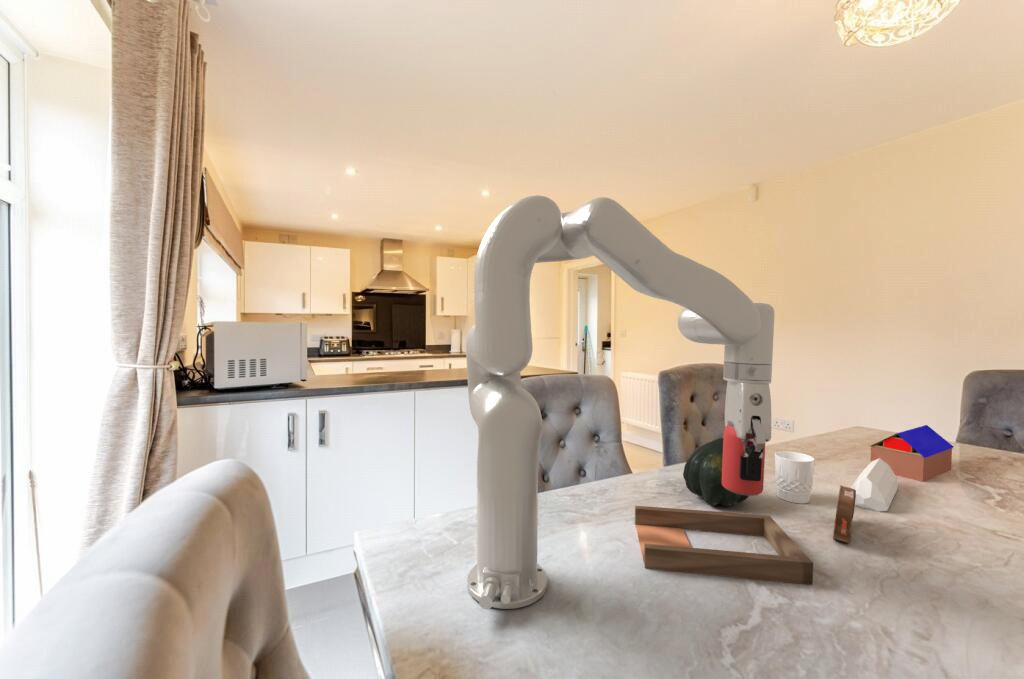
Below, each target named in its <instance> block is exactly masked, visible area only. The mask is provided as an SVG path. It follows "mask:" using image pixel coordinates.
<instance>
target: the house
mask: <svg viewBox="0 0 1024 679" xmlns="http://www.w3.org/2000/svg"><path fill="white" fill-rule="evenodd" d="M869 447H870V462H869V464H870V463H871V462H872V461H874V460H877V459H879V458H880V459H881V460H883V461H884V462H885V463H887V464H888V465H889V466H890V468H891V469H892V471H893V472H894V474H895V475H896V477H901V478H906V479H909V480H914V481H916V482H917V481H918V482H921V483H923V482H925V481H928V480H931V479H932V478H936V477H937V476H940V475H942V474H944V473H946V472H948V471H951V470H952V459H953V458H952V457H953V456H952V455H953V449H954V446H953V445H952V444H951V443H950V442H949V441H947V440H946V439H945V437H943V436H941V434H939V433H937V432H936V431H935V430H934V429H932V427H930V426H929V425H928V424H924V425H921V426H919V427H915V428H911V429H908V430H907V429H906V430H904V431H900V432H896V433H893V434H892V435H891V436H888V437H886V438H884V439H881V440H880V441H877V442H874V443H873V444H871V445H869Z"/></svg>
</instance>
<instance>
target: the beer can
mask: <svg viewBox="0 0 1024 679" xmlns="http://www.w3.org/2000/svg"><path fill="white" fill-rule="evenodd" d="M727 423H728V424H727V426H726V427H725V429H724V431H723V438H724V439H723V461H722V485H723V487H724V488H725V489H727V490H728V491H730V492H733V493H736V494H740V495H746V496H748V497H749V496H751V497H752V496H758V495H760V494H762V493H763V491H764V482H765V481H764V480H765V463H766V461H765V458H766V445H765V446H764V447H763V448H764V450H763V452H762V453H763V457H762V465H761V480H760V481H750V480H742V479H741V478H740V477H739V476H740V456H743V452H742V441H741V439H739V438H738V437H737V435H736V432H735V429H734V424H732V423H730V422H729V421H728V422H727ZM746 437H747V438H754V437H753V435H746ZM750 444H753V443H747V445H748V448H749V446H750Z"/></svg>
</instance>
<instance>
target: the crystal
mask: <svg viewBox="0 0 1024 679" xmlns="http://www.w3.org/2000/svg"><path fill="white" fill-rule="evenodd" d="M897 477H898V476H897V475H895V474H894V472H893V471H892V469H891V468H890V466H889V465H888V464H887V463H885V462H884V461H883V460H881V459H880V458H879V459H877V460H874V461H872V462H871V463H870V462H869V463H868V464H867V466H866V467H865V468H864V469H863V471H862V472H861V473H860V474H859V476H858V477H857V478H856V479H855V481H854V482H853V483H852V484H851V486H850V487H849V488H852V489H855V490H856V499H855V507H859V508H862V509H867V510H870V511H874V512H879V513H880V512H886V511H887V512H888V510H889V507H890V506H891V503H892V502H893V499H894V497H895V494H896V493H897V490H898V488H899V484H898V483H899V482H898V478H897Z"/></svg>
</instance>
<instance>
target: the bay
mask: <svg viewBox="0 0 1024 679" xmlns="http://www.w3.org/2000/svg"><path fill="white" fill-rule="evenodd" d="M634 525H636V526H635V529H636V534H638V535H637V539H638V538H639V539H638V543H639V547H641V548H640V552H641V557H642V556H643V557H642V560H643V566H644V565H645V566H644V568H645V569H648V568H651V570H658V569H659V570H658V571H669V572H670V571H671V572H682V573H689V574H690V573H691V574H700V575H709V576H710V575H712V576H720V577H721V576H722V577H732V578H742V579H753V580H761V581H762V580H763V581H771V582H772V581H773V582H780V583H781V582H782V583H792V584H801V585H812V586H813V579H814V575H813V574H814V562H813V561H812V560H811V559H810V558H809V557H808V556H807V555H806V554H805V553H804V551H803V550H802V549H801V548H800V547H799V546H798V545H797V544H796V543H795V541H794V540H792V539H791V537H790V536H789V535H788V533H786V532H785V531H784V530H783V529H782V528H781V526H780V525H779V524H778V523H777V522H776V521H775V520H774V519H773V518H772V517H771V515H768V514H765V515H764V514H754V513H753V514H752V513H740V512H738V513H737V512H726V511H712V510H699V509H686V508H685V509H684V508H674V507H671V508H670V507H659V506H647V505H634ZM684 529H688V530H687V531H696V530H700V531H699V532H708V531H711V533H720V532H723V534H733V535H734V534H735V535H736V534H737V535H744V536H745V535H748V536H758V537H759V536H760V537H764V538H765V540H766V541H767V543H769V545H770V546H771V547H772V548H773V550H774V551H775V552H776V554H770V553H769V554H767V553H755V552H748V551H747V552H746V551H745V552H744V551H733V550H723V549H710V548H699V547H692V546H691V544H690V542H689V539H688V538H687V536H686V535H687V534H686V533H685V530H684ZM689 529H690V530H689Z"/></svg>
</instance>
